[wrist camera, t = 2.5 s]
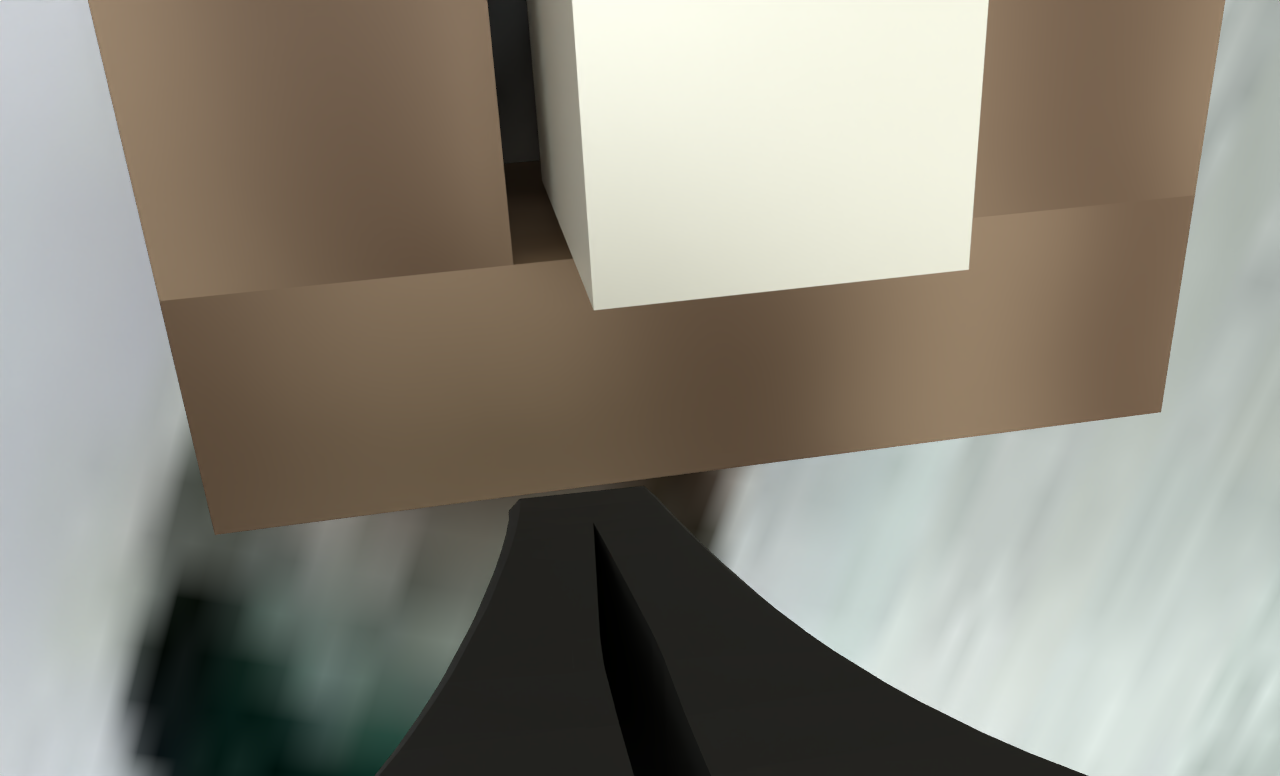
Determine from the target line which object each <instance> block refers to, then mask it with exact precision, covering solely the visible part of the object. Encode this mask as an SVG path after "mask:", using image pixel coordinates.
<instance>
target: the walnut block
mask: <svg viewBox="0 0 1280 776" xmlns="http://www.w3.org/2000/svg"><path fill="white" fill-rule="evenodd" d="M88 3H89V7H90V11H91V15H92V20H93V24H94V28H95V32H96V36H97V41H98V45H99V49H100V53H101V57H102V62H103V66H104V70H105V74H106V78H107V83H108V87H109V91H110V95H111V99H112V104H113V108H114V112H115V116H116V121H117V125H118V129H119V133H120V137H121V142H122V146H123V150H124V154H125V158H126V163H127V167H128V171H129V175H130V179H131V184H132V188H133V192H134V196H135V200H136V205H137V209H138V213H139V217H140V222H141V226H142V230H143V234H144V238H145V243H146V247H147V251H148V255H149V259H150V264H151V268H152V272H153V276H154V280H155V285H156V289H157V293H158V297H159V301H160V306H161V310H162V314H163V318H164V323H165V327H166V331H167V335H168V339H169V344H170V348H171V352H172V356H173V360H174V365H175V369H176V373H177V377H178V381H179V386H180V390H181V394H182V398H183V402H184V407H185V411H186V415H187V419H188V423H189V428H190V432H191V436H192V440H193V445H194V449H195V453H196V457H197V461H198V466H199V470H200V474H201V478H202V482H203V487H204V491H205V495H206V499H207V503H208V508H209V512H210V516H211V520H212V524H213V529H214V533H215V535H217V534H225V533H233V532H240V531H248V530H256V529H264V528H271V527H279V526H287V525H294V524H302V523H310V522H318V521H325V520H333V519H341V518H348V517H356V516H364V515H371V514H379V513H387V512H395V511H402V510H410V509H418V508H425V507H433V506H441V505H449V504H456V503H464V502H472V501H479V500H487V499H495V498H502V497H510V496H518V495H526V494H533V493H541V492H549V491H556V490H564V489H572V488H580V487H587V486H595V485H603V484H610V483H618V482H626V481H634V480H641V479H649V478H657V477H664V476H672V475H680V474H687V473H695V472H703V471H711V470H718V469H726V468H734V467H741V466H749V465H757V464H765V463H772V462H780V461H788V460H795V459H803V458H811V457H818V456H826V455H834V454H842V453H849V452H857V451H865V450H872V449H880V448H888V447H896V446H903V445H911V444H919V443H926V442H934V441H942V440H949V439H957V438H965V437H973V436H980V435H988V434H996V433H1003V432H1011V431H1019V430H1027V429H1034V428H1042V427H1050V426H1057V425H1065V424H1073V423H1081V422H1088V421H1096V420H1104V419H1111V418H1119V417H1127V416H1134V415H1142V414H1150V413H1158V412H1161V408H1162V402H1163V395H1164V389H1165V382H1166V376H1167V370H1168V363H1169V357H1170V350H1171V344H1172V338H1173V331H1174V325H1175V318H1176V312H1177V306H1178V299H1179V293H1180V286H1181V280H1182V274H1183V267H1184V261H1185V254H1186V248H1187V242H1188V235H1189V229H1190V222H1191V216H1192V210H1193V203H1194V197H1195V190H1196V184H1197V178H1198V171H1199V165H1200V158H1201V152H1202V146H1203V139H1204V133H1205V126H1206V120H1207V114H1208V107H1209V101H1210V94H1211V88H1212V82H1213V75H1214V69H1215V62H1216V56H1217V50H1218V43H1219V37H1220V30H1221V24H1222V18H1223V11H1224V5H1225V0H989V3H988V16H987V30H986V43H985V57H984V70H983V83H982V97H981V110H980V124H979V137H978V151H977V164H976V178H975V191H974V205H973V218H972V231H971V245H970V258H969V270H961V271H952V272H943V273H933V274H924V275H915V276H906V277H897V278H887V279H878V280H869V281H860V282H851V283H841V284H832V285H823V286H814V287H805V288H795V289H786V290H777V291H768V292H759V293H749V294H740V295H731V296H722V297H713V298H703V299H694V300H685V301H676V302H666V303H657V304H648V305H639V306H630V307H620V308H611V309H602V310H593V307H592V305H591V302H590V300H589V297H588V295H587V292H586V290H585V287H584V285H583V282H582V280H581V277H580V275H579V272H578V270H577V267H576V265H575V262H574V260H573V257H572V254H571V252H570V249H569V247H568V244H567V242H566V239H565V237H564V234H563V232H562V229H561V227H560V224H559V222H558V219H557V217H556V214H555V212H554V209H553V207H552V204H551V202H550V199H549V197H548V194H547V192H546V189H545V187H544V184H543V182H542V174H541V162H540V161H530V162H519V163H508V164H503V154H502V144H501V134H500V124H499V114H498V104H497V94H496V84H495V73H494V63H493V53H492V43H491V33H490V23H489V13H488V3H487V0H88Z"/></svg>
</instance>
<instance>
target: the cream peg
mask: <svg viewBox="0 0 1280 776" xmlns="http://www.w3.org/2000/svg"><path fill="white" fill-rule="evenodd" d="M988 3H989V0H527V10H528V22H529V34H530V45H531V57H532V69H533V80H534V92H535V104H536V115H537V127H538V139H539V150H540V162H541V174H542V182H543V184H544V187H545V189H546V192H547V194H548V197H549V199H550V202H551V204H552V207H553V209H554V212H555V214H556V217H557V219H558V222H559V224H560V227H561V229H562V232H563V234H564V237H565V239H566V242H567V244H568V247H569V249H570V252H571V254H572V257H573V260H574V262H575V265H576V267H577V270H578V272H579V275H580V277H581V280H582V282H583V285H584V287H585V290H586V292H587V295H588V297H589V300H590V302H591V305H592V307H593V310H602V309H611V308H620V307H630V306H639V305H648V304H657V303H666V302H676V301H685V300H694V299H703V298H713V297H722V296H731V295H740V294H749V293H759V292H768V291H777V290H786V289H795V288H805V287H814V286H823V285H832V284H841V283H851V282H860V281H869V280H878V279H887V278H897V277H906V276H915V275H924V274H933V273H943V272H952V271H961V270H969V258H970V245H971V231H972V218H973V205H974V191H975V178H976V164H977V151H978V137H979V124H980V110H981V97H982V83H983V70H984V57H985V43H986V30H987V16H988Z"/></svg>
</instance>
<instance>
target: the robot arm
mask: <svg viewBox="0 0 1280 776" xmlns="http://www.w3.org/2000/svg"><path fill="white" fill-rule="evenodd" d="M375 776H1087V775H1085V774H1082V773H1079V772H1077V771H1074V770H1072V769H1069V768H1067V767H1064V766H1061V765H1059V764H1056V763H1054V762H1051V761H1049V760H1046V759H1043V758H1041V757H1038V756H1036V755H1033V754H1030V753H1028V752H1026V751H1023V750H1021V749H1019V748H1017V747H1014V746H1012V745H1010V744H1007V743H1005V742H1003V741H1000V740H998V739H996V738H994V737H991V736H989V735H987V734H985V733H982V732H980V731H978V730H976V729H974V728H972V727H970V726H968V725H966V724H964V723H962V722H960V721H958V720H956V719H954V718H952V717H950V716H948V715H946V714H944V713H942V712H940V711H938V710H936V709H934V708H932V707H930V706H928V705H926V704H924V703H921V702H920V701H918V700H916V699H914V698H912V697H910V696H909V695H907V694H905V693H903V692H901V691H899V690H898V689H896V688H894V687H892V686H890V685H889V684H887V683H885V682H884V681H882V680H880V679H879V678H877V677H875V676H874V675H872V674H871V673H869V672H867V671H866V670H864V669H862V668H861V667H859V666H858V665H856V664H854V663H853V662H851V661H850V660H848V659H846V658H845V657H843V656H841V655H840V654H838V653H837V652H835V651H833V650H832V649H830V648H829V647H828V646H826V645H825V644H823V643H822V642H820V641H819V640H817V639H816V638H814V637H813V636H811V635H810V634H809V633H807V632H806V631H805V630H803V629H802V628H801V627H799V626H798V625H797V624H795V623H794V622H793V621H791V620H790V619H789V618H787V617H786V616H785V615H783V614H782V613H781V612H779V611H778V610H777V609H775V608H774V607H773V606H772V605H771V604H769V603H768V602H767V601H766V600H765V599H763V598H762V597H761V596H760V595H758V594H757V593H756V592H755V591H754V590H753V589H752V588H750V587H749V586H748V585H747V584H746V583H745V582H744V581H743V580H741V579H740V578H739V577H738V576H737V575H736V574H735V573H733V572H732V571H731V570H730V569H729V568H728V567H727V566H725V565H724V564H723V563H722V562H721V561H720V560H719V559H718V558H717V557H716V556H715V555H714V554H712V553H711V552H710V551H709V550H708V549H707V548H706V547H705V546H704V545H703V544H702V543H701V542H700V541H699V540H698V539H697V538H696V537H695V536H694V535H693V534H692V533H691V532H690V531H689V530H688V529H687V528H686V527H685V526H684V525H683V524H682V523H681V522H680V521H679V520H678V519H677V518H676V517H675V516H674V515H673V514H672V513H671V512H670V511H669V510H668V509H667V508H666V506H665V505H664V504H663V503H662V502H661V501H660V500H659V499H658V498H657V497H656V496H655V495H654V494H653V493H652V492H650V491H649V490H648V489H647V488H646V487H645V486H639V487H630V488H620V489H610V490H601V491H591V492H582V493H572V494H563V495H553V496H544V497H534V498H525V499H519V500H518V502H517V503H516V504H515V505H514V506H513V507H512V508H511V509H510V510H509V522H508V527H507V532H506V537H505V540H504V544H503V547H502V551H501V554H500V557H499V559H498V562H497V565H496V568H495V571H494V574H493V576H492V578H491V581H490V583H489V586H488V588H487V590H486V593H485V595H484V597H483V600H482V602H481V604H480V607H479V609H478V611H477V614H476V616H475V618H474V620H473V622H472V624H471V626H470V628H469V630H468V632H467V634H466V636H465V638H464V640H463V641H462V643H461V645H460V647H459V649H458V651H457V653H456V654H455V656H454V658H453V660H452V662H451V664H450V666H449V667H448V669H447V671H446V673H445V675H444V677H443V678H442V680H441V682H440V683H439V685H438V687H437V688H436V690H435V691H434V693H433V695H432V696H431V698H430V700H429V701H428V703H427V704H426V706H425V707H424V709H423V710H422V712H421V714H420V715H419V717H418V718H417V719H416V721H415V722H414V724H413V725H412V727H411V728H410V729H409V731H408V732H407V734H406V735H405V737H404V738H403V740H402V741H401V742H400V744H399V745H398V747H397V748H396V749H395V751H394V752H393V753H392V755H391V756H390V757H389V758H388V760H387V761H386V762H385V763H384V765H383V766H382V767H381V768H380V770H379V771H378V772H377V773H376V775H375Z"/></svg>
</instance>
